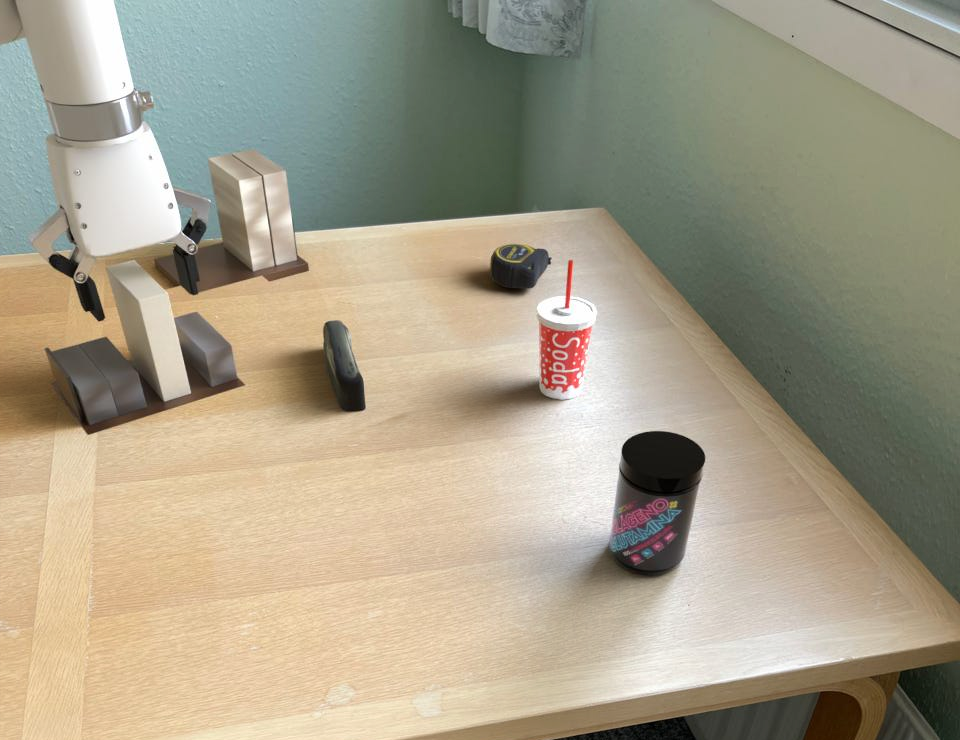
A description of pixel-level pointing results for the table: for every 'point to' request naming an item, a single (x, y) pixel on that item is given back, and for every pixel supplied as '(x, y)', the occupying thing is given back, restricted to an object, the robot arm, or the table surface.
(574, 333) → the beverage cup
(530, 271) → the tape measure
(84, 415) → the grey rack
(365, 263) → the table surface
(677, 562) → the supplement container
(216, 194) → the bookend with slabs
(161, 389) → the white book
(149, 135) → the robot arm
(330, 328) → the black stapler
